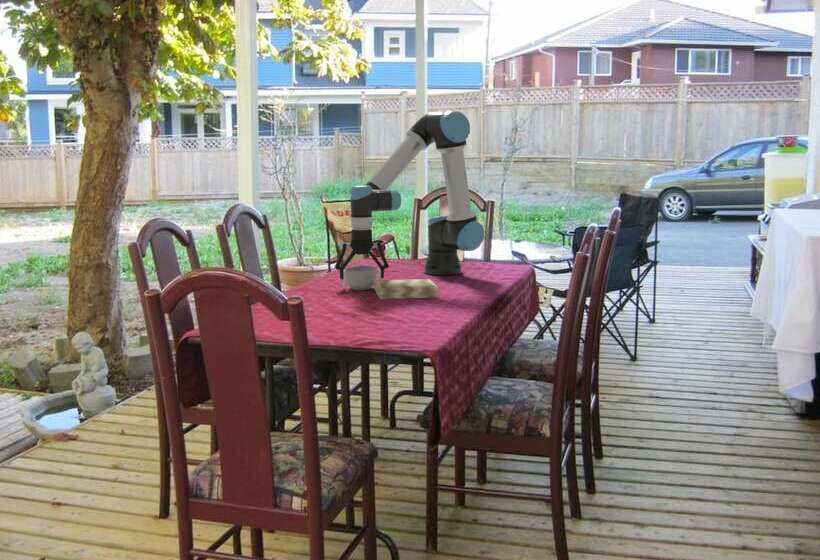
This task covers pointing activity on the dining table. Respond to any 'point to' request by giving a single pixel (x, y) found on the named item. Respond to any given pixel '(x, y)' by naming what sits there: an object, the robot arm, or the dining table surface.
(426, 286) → the beige tray
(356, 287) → the teacup
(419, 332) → the dining table surface
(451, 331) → the dining table surface
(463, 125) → the robot arm
